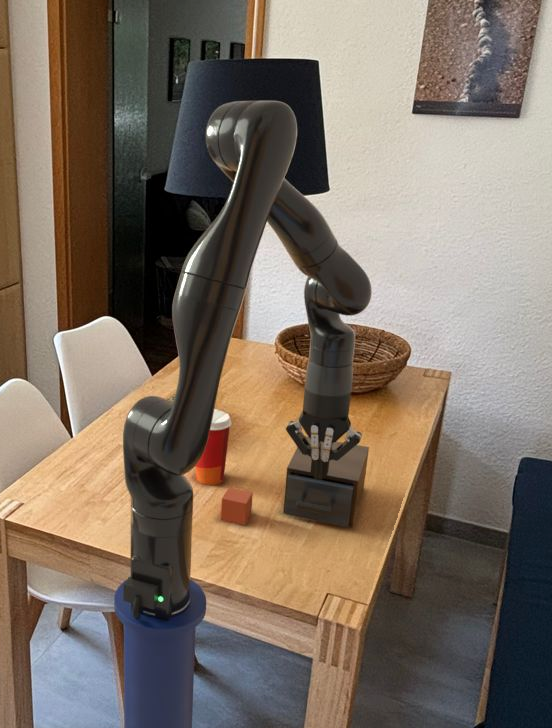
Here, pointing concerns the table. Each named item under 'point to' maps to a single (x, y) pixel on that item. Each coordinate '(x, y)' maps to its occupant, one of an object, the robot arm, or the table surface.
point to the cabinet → (336, 471)
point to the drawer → (319, 499)
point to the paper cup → (214, 451)
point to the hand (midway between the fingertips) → (319, 477)
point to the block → (236, 506)
